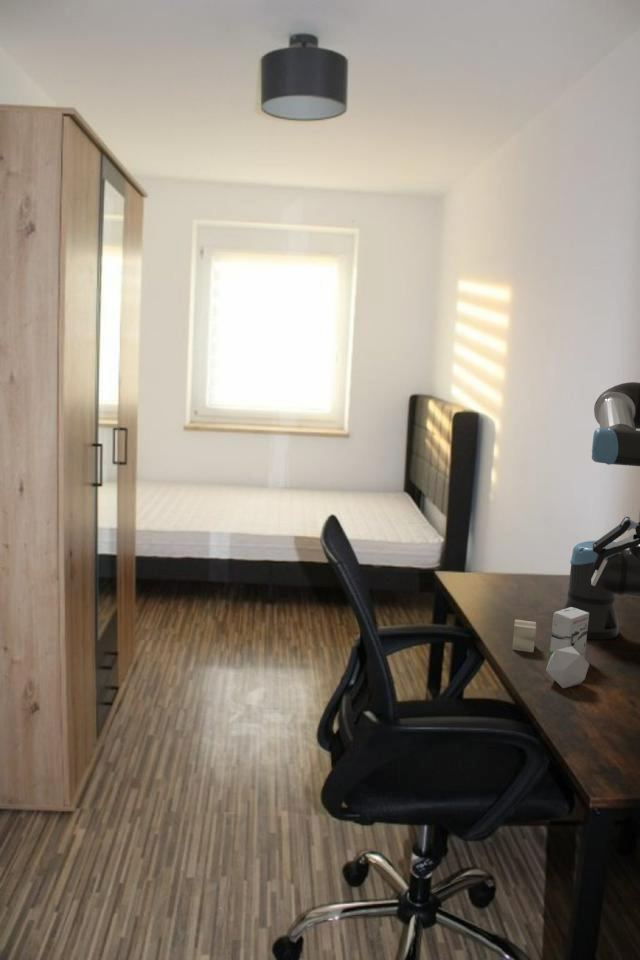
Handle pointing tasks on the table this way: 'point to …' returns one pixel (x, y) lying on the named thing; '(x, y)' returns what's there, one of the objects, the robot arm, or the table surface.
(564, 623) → the ink box
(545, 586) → the table surface
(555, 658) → the die
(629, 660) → the table surface
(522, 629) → the birch block
